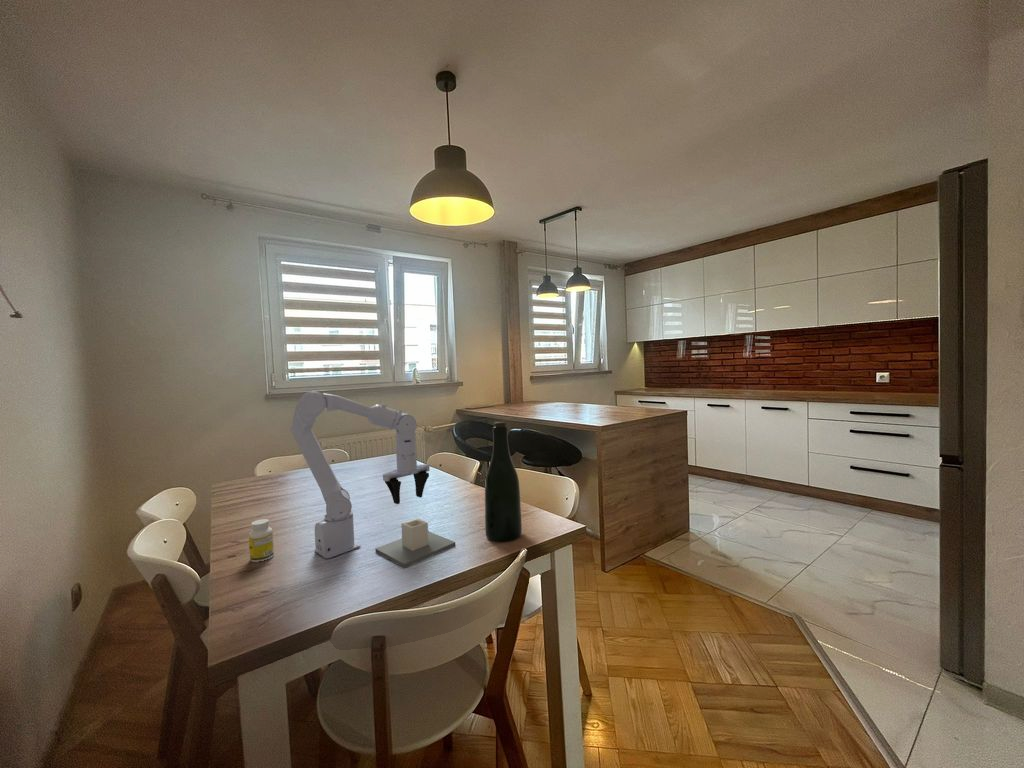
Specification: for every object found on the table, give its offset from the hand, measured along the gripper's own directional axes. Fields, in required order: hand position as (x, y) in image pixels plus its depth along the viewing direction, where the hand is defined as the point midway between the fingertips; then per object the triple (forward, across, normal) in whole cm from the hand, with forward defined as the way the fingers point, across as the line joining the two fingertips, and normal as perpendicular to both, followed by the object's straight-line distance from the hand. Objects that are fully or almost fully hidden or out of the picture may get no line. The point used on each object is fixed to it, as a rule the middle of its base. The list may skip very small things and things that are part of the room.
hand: (408, 499), depth 118 cm
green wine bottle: (+11, +17, -23) cm, 30 cm away
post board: (+10, -4, -10) cm, 15 cm away
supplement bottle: (+11, -34, +18) cm, 40 cm away
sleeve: (+9, -4, -10) cm, 14 cm away
